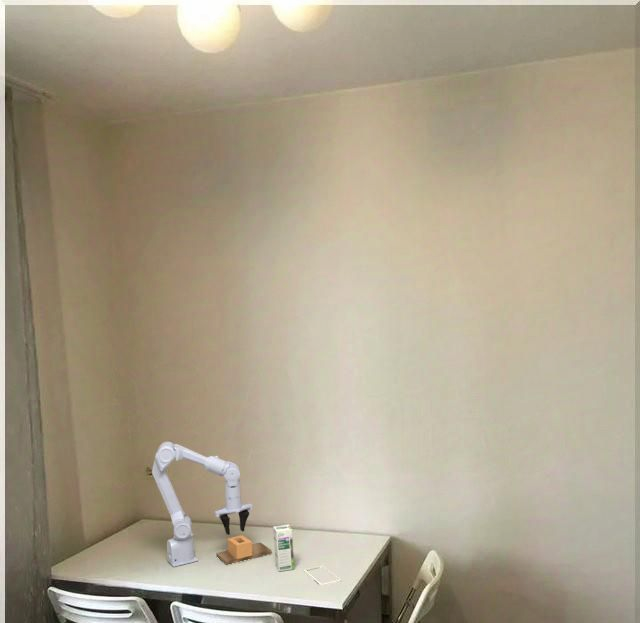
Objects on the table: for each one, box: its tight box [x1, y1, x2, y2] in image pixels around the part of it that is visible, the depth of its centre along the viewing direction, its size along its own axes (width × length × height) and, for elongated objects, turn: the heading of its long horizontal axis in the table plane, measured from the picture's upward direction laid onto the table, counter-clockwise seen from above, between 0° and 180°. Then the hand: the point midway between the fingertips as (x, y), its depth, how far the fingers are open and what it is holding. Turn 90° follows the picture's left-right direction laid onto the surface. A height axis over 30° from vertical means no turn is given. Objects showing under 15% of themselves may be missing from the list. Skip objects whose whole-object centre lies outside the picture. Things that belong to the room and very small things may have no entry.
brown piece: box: [215, 541, 273, 566], centre depth 257 cm, size 18×10×6 cm, turn 119°
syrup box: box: [272, 524, 295, 572], centre depth 243 cm, size 6×6×14 cm
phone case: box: [303, 564, 341, 587], centre depth 234 cm, size 7×1×15 cm
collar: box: [227, 534, 253, 559], centre depth 255 cm, size 6×9×5 cm, turn 30°
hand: (235, 532), depth 258 cm, fingers open, 5 cm apart
